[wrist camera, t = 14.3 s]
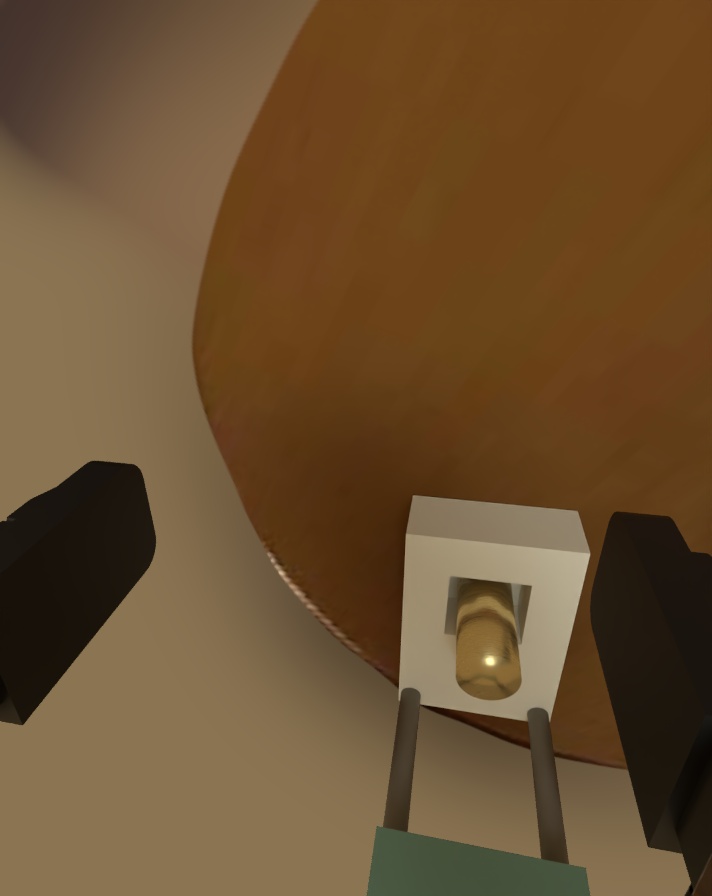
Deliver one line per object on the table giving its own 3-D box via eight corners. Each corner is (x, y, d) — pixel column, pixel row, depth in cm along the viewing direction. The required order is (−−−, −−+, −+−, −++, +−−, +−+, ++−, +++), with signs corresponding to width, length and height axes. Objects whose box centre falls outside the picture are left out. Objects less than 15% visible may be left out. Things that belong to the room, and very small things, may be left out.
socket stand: (577, 511, 40) (667, 811, 21) (542, 673, 48) (585, 995, 29) (413, 495, 42) (365, 757, 23) (404, 653, 50) (364, 943, 31)
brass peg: (513, 556, 42) (526, 659, 33) (506, 596, 43) (517, 704, 35) (459, 550, 42) (458, 650, 33) (455, 590, 44) (452, 695, 35)
